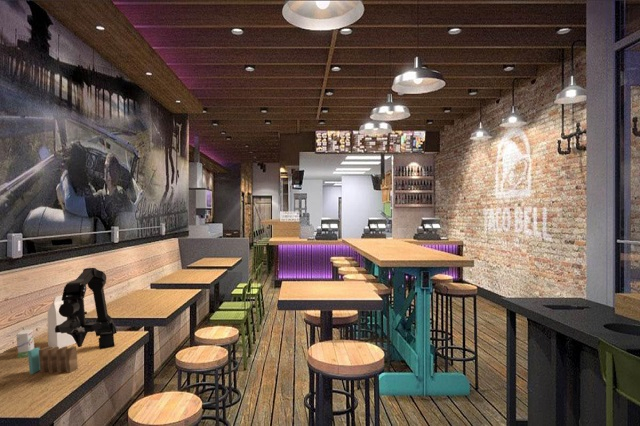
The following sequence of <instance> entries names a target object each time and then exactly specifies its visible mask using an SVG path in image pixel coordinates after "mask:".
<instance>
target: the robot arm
mask: <svg viewBox="0 0 640 426" xmlns="http://www.w3.org/2000/svg"><path fill="white" fill-rule="evenodd" d="M106 284H107V274H105V272H104V271H103V270H99V269H98V268H97V267H87V268H83V269H82V272H81V273H80V274H79V276H78V277H76V279H74V280H71V281H69V282H67V283H66V284H65V286H64V287H63V291H62V294H61V295H62V301H63V304H62V305H61V306H60V308H59V313H60V315H61V316H63V317H67V320H66V321H64V322H63V323H62V324H60V325H57V326H56V327H55V333H60V332H61V333H67V334H69V335H71V336H72V337H73V338H74V340H75V342H76V347H77V348H81V347H82V346H83V343H84V341H85V338H86V336H87V334H88V333H92V332H95V337H99V338H98V347H99V348H100V349H101V350H102V349H106V348H112V347H115V345H116V343H115V338H114V336H115V334H117V333H118V330H117V329H118V328H117V326H116V324H115V322H114V321H113V318H112V317H111V316H110V315H109V313H108V309H107V302H106V297H105V289H104V287H105V285H106ZM87 287H88V288H87ZM87 289H89V290H91V292H92V294H93V301H94V305H95V311H96V317H97V319H96V320H95V321H92V322H90V323H88V322H89V321H88V320H86V315H88V311H85V302H84V301H85V300H84V299H85V295H86V293H87V292H86V291H87Z"/></svg>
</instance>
